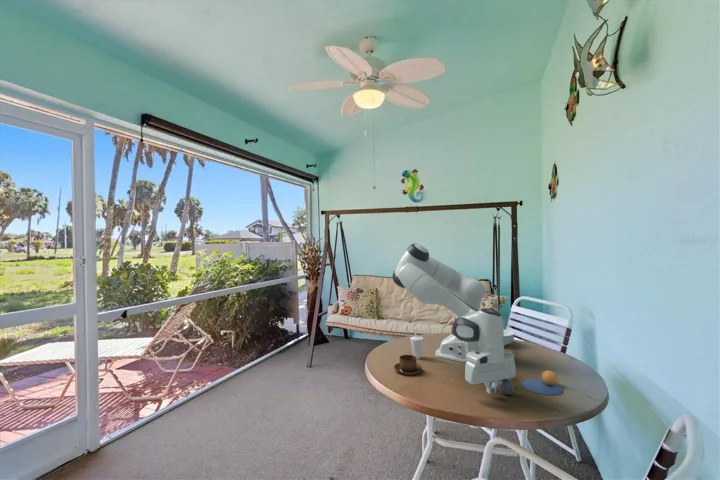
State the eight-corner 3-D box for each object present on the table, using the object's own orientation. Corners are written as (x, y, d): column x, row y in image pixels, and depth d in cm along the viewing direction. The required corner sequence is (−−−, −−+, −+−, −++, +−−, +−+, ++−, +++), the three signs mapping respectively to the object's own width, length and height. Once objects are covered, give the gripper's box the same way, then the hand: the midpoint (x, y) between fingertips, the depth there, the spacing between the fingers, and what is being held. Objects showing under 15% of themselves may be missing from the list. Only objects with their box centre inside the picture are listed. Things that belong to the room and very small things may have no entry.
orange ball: (544, 389, 131) (540, 377, 131) (543, 380, 136) (539, 368, 135) (560, 388, 129) (556, 375, 128) (558, 379, 134) (554, 366, 133)
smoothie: (408, 355, 167) (408, 327, 167) (421, 355, 168) (421, 327, 168) (412, 360, 161) (411, 331, 161) (425, 359, 161) (424, 330, 161)
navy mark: (521, 390, 127) (521, 390, 127) (521, 377, 140) (521, 376, 140) (564, 398, 121) (564, 397, 121) (560, 383, 134) (560, 382, 134)
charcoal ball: (509, 374, 125) (515, 385, 126) (495, 376, 128) (501, 388, 129) (510, 385, 120) (516, 397, 121) (495, 387, 123) (501, 399, 124)
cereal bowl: (520, 348, 177) (520, 335, 177) (489, 349, 177) (489, 336, 177) (504, 339, 194) (504, 327, 194) (476, 340, 193) (476, 327, 194)
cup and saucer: (388, 372, 147) (388, 357, 147) (404, 364, 156) (404, 351, 156) (411, 379, 139) (411, 364, 139) (427, 371, 148) (427, 357, 148)
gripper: (507, 348, 129) (507, 384, 129) (462, 354, 122) (462, 392, 122) (520, 353, 123) (520, 391, 123) (473, 360, 116) (473, 400, 116)
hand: (491, 392), depth 123 cm, fingers closed
